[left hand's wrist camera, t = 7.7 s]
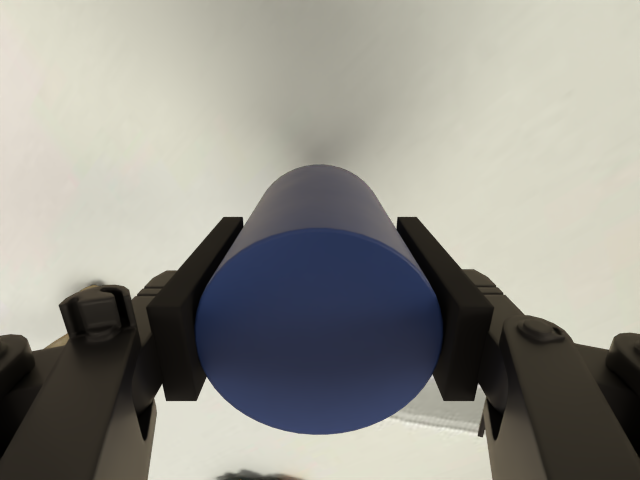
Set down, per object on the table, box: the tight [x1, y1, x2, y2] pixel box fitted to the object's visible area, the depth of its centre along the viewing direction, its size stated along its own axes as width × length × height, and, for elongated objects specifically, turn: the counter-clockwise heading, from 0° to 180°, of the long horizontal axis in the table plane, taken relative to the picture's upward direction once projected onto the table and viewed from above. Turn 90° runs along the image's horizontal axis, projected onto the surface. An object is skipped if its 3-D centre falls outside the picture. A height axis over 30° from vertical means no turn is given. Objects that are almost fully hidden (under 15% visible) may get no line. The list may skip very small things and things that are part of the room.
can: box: [194, 165, 443, 435], centre depth 12 cm, size 6×6×9 cm
